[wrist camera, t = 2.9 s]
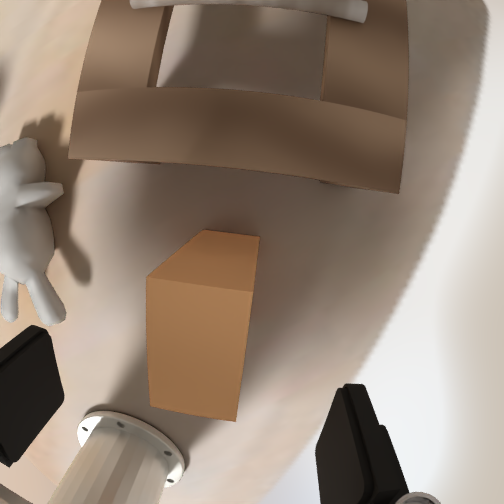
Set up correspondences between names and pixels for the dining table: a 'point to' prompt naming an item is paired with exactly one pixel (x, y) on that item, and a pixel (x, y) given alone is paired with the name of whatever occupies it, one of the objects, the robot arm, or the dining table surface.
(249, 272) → the orange boxy part
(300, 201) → the dining table surface
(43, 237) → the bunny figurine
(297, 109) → the brown square frame
